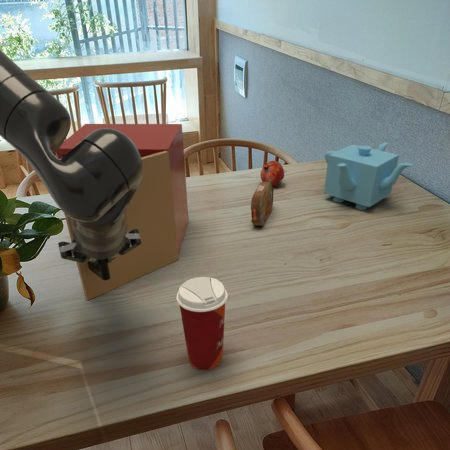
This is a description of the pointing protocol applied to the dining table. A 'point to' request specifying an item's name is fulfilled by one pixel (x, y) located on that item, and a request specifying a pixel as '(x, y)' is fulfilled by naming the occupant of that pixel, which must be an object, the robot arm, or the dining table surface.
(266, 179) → the pomegranate
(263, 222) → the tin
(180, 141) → the cabinet
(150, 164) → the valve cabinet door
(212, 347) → the paper cup
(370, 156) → the teakettle
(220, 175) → the dining table surface
